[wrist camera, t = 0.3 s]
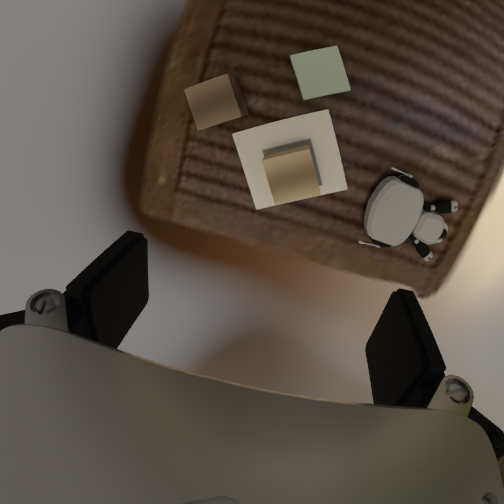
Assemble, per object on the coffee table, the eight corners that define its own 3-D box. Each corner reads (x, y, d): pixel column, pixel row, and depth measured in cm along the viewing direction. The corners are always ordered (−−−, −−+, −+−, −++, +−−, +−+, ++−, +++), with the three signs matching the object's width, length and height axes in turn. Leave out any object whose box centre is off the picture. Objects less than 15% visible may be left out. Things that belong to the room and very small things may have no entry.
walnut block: (198, 90, 40) (183, 89, 34) (236, 77, 38) (227, 73, 33) (210, 126, 42) (197, 130, 37) (249, 114, 40) (241, 116, 35)
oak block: (266, 152, 41) (261, 160, 36) (308, 142, 40) (309, 148, 35) (278, 191, 44) (274, 204, 39) (318, 182, 42) (320, 194, 37)
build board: (233, 133, 42) (231, 134, 41) (327, 109, 38) (328, 109, 37) (257, 207, 47) (256, 210, 46) (346, 187, 43) (347, 189, 42)
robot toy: (453, 194, 41) (380, 159, 40) (466, 204, 37) (390, 166, 36) (422, 256, 47) (349, 230, 46) (432, 270, 43) (356, 244, 42)
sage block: (291, 61, 36) (289, 55, 31) (332, 53, 34) (337, 45, 29) (303, 100, 38) (303, 99, 33) (344, 92, 37) (350, 90, 31)
